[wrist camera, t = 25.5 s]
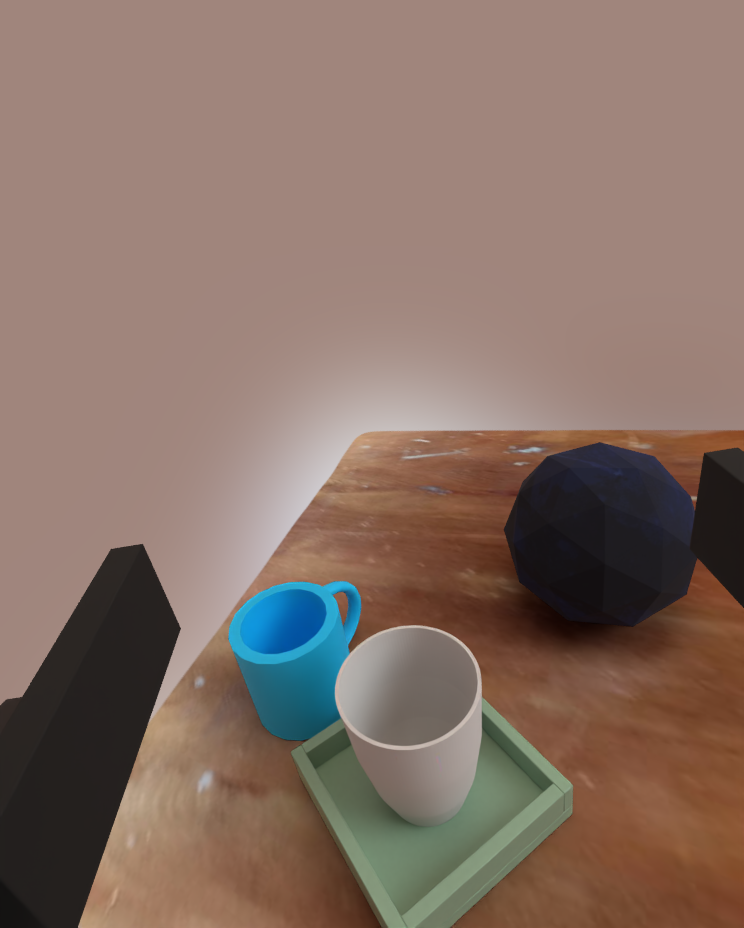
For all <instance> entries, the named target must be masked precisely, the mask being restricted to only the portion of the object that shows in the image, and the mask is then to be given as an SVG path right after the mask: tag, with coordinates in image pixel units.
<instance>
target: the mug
mask: <svg viewBox="0 0 744 928" xmlns="http://www.w3.org/2000/svg"><path fill="white" fill-rule="evenodd" d="M338 592H344V593H346V596H347V598H348V611H347V617H346V620H345V623H344V625H342V621H341V617H340V613H339V609H338V605H337V601H336V599H335V598H334V597H333V595H334V594H336V593H338ZM360 612H361V597H360V595H359V593H358V591H357V588H356V587H355V586H353V585H352V584H350V583H348V582H346V581H334V582H331V583H329V584H327V585H325V586H320V585H317V584H313V583H309V582H289V583H285V584H280V585H276V586H273V587H271V588H269V589H266V590H264V591H262V592H260V593H258V594H257V595H255V596H254V597H253V598H251V599H250V600H248V601H247V602H246V603H245V604H244V605H243V606H242V607H241V608H240V609H239V611H238V612H237V613H236V614H235V616H234V618H233V620H232V622H231V624H230V627H229V638H228V639H229V642H230V644H231V647H232V650H233V652H234V655H235V657H236V660H237V662H238V665H239V667H240V670H241V672H242V675H243V677H244V680H245V682H246V685H247V688H248V690H249V693H250V695H251V698H252V700H253V703H254V705H255V708H256V710H257V713H258V715H259V718H260V720H261V723H262V725H263V726H264V727H265V728H266V729H267V730H268V731H269V732H270V733H271V734H272V735H275V736H277V737H280V738H282V739H285V740H300V741H302V740H306V739H310V738H312V737H314V736H315V735H317V734H318V733H320V732H321V731H323V730H324V729H326V728H327V727H329V726H330V725H332V724H333V723H335V722H336V721H338V720H339V719H341V716H340V714H339V711H338V708H337V704H336V699H335V685H336V680H337V676H338V673H339V671H340V668H341V666H342V664H343V663H344V661H345V660H346V658H347V657H348V656H349V654H350V652H349V648H348V645H349V643H350V641H351V639H352V637H353V636H354V633H355V630H356V628H357V625H358V622H359V618H360Z"/></svg>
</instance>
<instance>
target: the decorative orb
mask: <svg viewBox="0 0 744 928" xmlns="http://www.w3.org/2000/svg"><path fill="white" fill-rule="evenodd" d="M694 515H695V510H694V506H693V503H692V499H691V497H690V495H689V494H688V493H687V492H686V491H685V490H684V489H683V488H682V487H681V485H680V484H679V483H678V482H677V481H676V480H675V479H674V478H673V477H672V475H671V474H670V473H669V472H668V471H667V470H666V469H665V468H664V467H663V465H662V464H661V463H660V462H659V461H658V460H657V459H656V458H655V457H654V456H651V455H647V454H643V453H639V452H635V451H631V450H627V449H623V448H620V447H616V446H612V445H608V444H604V443H600V442H599V443H596V444H592V445H588V446H584V447H580V448H577V449H573V450H569V451H565V452H562V453H558V454H554V455H550V456H547V457H546V458H545V459H544V460H543V461H542V463H541V464H540V465H539V466H538V467H537V468H536V469H535V470H534V471H533V472H532V473H531V474H530V475H529V476H528V477H527V478H526V479H525V480H524V481H523V483H522V485H521V488H520V490H519V493H518V495H517V498H516V500H515V503H514V505H513V508H512V510H511V513H510V515H509V518H508V520H507V523H506V526H505V528H504V531H505V535H506V538H507V541H508V545H509V548H510V552H511V555H512V558H513V562H514V565H515V569H516V572H517V575H518V579H519V582H520V583H521V584H523V585H524V586H525V587H526V588H528V589H529V590H530V591H531V592H533V593H534V594H535V595H536V596H538V597H539V598H540V599H541V600H543V601H544V602H545V603H546V604H548V605H549V606H550V607H551V608H553V609H554V610H555V611H556V612H558V613H559V614H560V615H561V616H563V617H564V618H565V619H566V620H568V621H579V622H589V623H600V624H610V625H621V626H631V627H633V626H635V625H636V624H638V623H640V622H641V621H643V620H645V619H646V618H648V617H650V616H651V615H653V614H655V613H656V612H658V611H660V610H661V609H663V608H665V607H666V606H668V605H670V604H671V603H673V602H675V601H676V600H678V599H680V598H681V597H683V596H685V595H686V594H687V591H688V587H689V584H690V580H691V577H692V574H693V570H694V567H695V564H696V560H697V557H696V555H695V554H694V553H693V552H692V551H691V550H690V549H689V548H690V541H691V535H692V528H693V522H694Z"/></svg>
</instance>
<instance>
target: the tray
mask: <svg viewBox="0 0 744 928" xmlns="http://www.w3.org/2000/svg"><path fill="white" fill-rule="evenodd" d="M291 755H292V757H293V760H294V763H295V765H296V768H297V770H298V773H299V776H300V779H301V780H302V782H303V784H304V786H305V788H306V790H307V791H308V793H309V795H310V797H311V799H312V801H313V802H314V804H315V806H316V808H317V810H318V812H319V813H320V815H321V817H322V819H323V821H324V823H325V824H326V826H327V828H328V830H329V832H330V834H331V835H332V837H333V839H334V841H335V843H336V845H337V846H338V848H339V850H340V852H341V854H342V856H343V857H344V859H345V861H346V863H347V865H348V867H349V868H350V870H351V872H352V874H353V876H354V878H355V879H356V881H357V883H358V885H359V887H360V889H361V890H362V892H363V894H364V896H365V898H366V900H367V901H368V903H369V905H370V907H371V909H372V911H373V912H374V914H375V916H376V918H377V920H378V922H379V923H380V925H381V927H382V928H450V927H451V926H452V925H453V924H454V923H455V922H456V921H457V920H458V919H459V918H461V917H462V916H463V915H464V914H465V913H466V912H467V911H468V910H469V909H470V908H471V907H472V906H474V905H475V904H476V903H477V902H478V901H479V900H480V899H481V898H482V897H483V896H484V895H485V894H486V893H488V892H489V891H490V890H491V889H492V888H493V887H494V886H495V885H496V884H497V883H498V882H499V881H500V880H502V879H503V878H504V877H505V876H506V875H507V874H508V873H509V872H510V871H511V870H512V869H513V868H515V867H516V866H517V865H518V864H519V863H520V862H521V861H522V860H523V859H524V858H525V857H526V856H527V855H529V854H530V853H531V852H532V851H533V850H534V849H535V848H536V847H537V846H538V845H539V844H540V843H542V842H543V841H544V840H545V839H546V838H547V837H548V836H549V835H550V834H551V833H552V832H553V831H554V830H556V829H557V828H558V827H559V826H560V825H561V824H562V823H563V822H564V821H565V820H566V819H567V818H569V817H570V816H571V815H572V806H573V805H572V804H573V785H572V784H571V783H570V782H569V781H568V780H567V779H566V778H565V777H564V776H563V775H562V774H561V773H560V772H559V771H558V770H557V769H556V768H555V767H554V766H553V765H551V764H550V763H549V762H548V761H547V760H546V759H545V758H544V757H543V756H542V755H541V754H540V753H539V752H538V751H537V750H536V749H535V748H534V747H533V746H532V745H531V744H530V743H529V742H528V741H527V740H526V739H525V738H524V737H523V736H522V735H521V734H520V733H519V732H518V731H516V730H515V729H514V728H513V727H512V726H511V725H510V724H509V723H508V722H507V721H506V720H505V719H504V718H503V717H502V716H501V715H500V714H499V713H498V712H497V711H496V710H495V709H494V708H493V707H492V706H491V705H490V704H489V703H488V702H487V701H486V700H485V699H484V698H482V737H481V743H480V749H479V755H478V761H477V767H476V773H475V778H474V781H473V784H472V786H471V788H470V790H469V793H468V795H467V797H466V799H465V801H464V803H463V805H462V807H461V809H460V810H459V812H458V813H457V814H456V815H455V816H454V817H453V818H452V819H450V820H449V821H447V822H445V823H443V824H441V825H438V826H433V827H422V826H417V825H414V824H411V823H409V822H408V821H406V820H405V819H403V818H402V817H401V816H400V815H399V814H398V813H397V812H395V811H394V810H393V809H392V808H391V807H390V806H389V805H388V804H387V803H386V802H385V801H384V800H383V799H382V798H381V797H380V795H379V794H378V792H377V790H376V789H375V787H374V786H373V784H372V782H371V781H370V779H369V777H368V776H367V774H366V773H365V771H364V769H363V768H362V766H361V764H360V763H359V761H358V759H357V757H356V754H355V752H354V749H353V746H352V744H351V741H350V739H349V736H348V734H347V731H346V729H345V726H344V724H343V721H342V719H339V720H338V721H336V722H335V723H333V724H332V725H330V726H329V727H327V728H326V729H324V730H323V731H321V732H320V733H318V734H317V735H315V736H314V737H312V738H310V739H309V740H307V741H306V742H304V743H303V744H302V745H300V746H298V747H297V748H295V749H294V750H292V751H291Z"/></svg>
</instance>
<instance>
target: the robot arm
mask: <svg viewBox="0 0 744 928" xmlns="http://www.w3.org/2000/svg"><path fill="white" fill-rule="evenodd" d="M689 549H690V550H691V551H692V552H693V553H694V554H695V555H696V557H697V558H698V559H699V560H700V561H701V562H702V563H703V564H704V565H705V566H706V567H707V568H708V570H709V571H710V572H711V573H712V574H713V575H714V576H715V577H716V578H717V579H718V580H719V582H720V583H721V584H722V585H723V586H724V587H725V588H726V589H727V590H728V591H729V592H730V593H731V595H732V596H733V597H734V598H735V599H736V600H737V601H738V602H739V603H740V604H741V605H742V607H743V608H744V452H743V451H742V450H741V449H739V448H732V449H726V450H720V451H714V452H708V453H704V457H703V463H702V470H701V476H700V483H699V489H698V496H697V502H696V509H695V515H694V522H693V528H692V535H691V541H690V548H689ZM180 629H181V628H180V626H179V623H178V621H177V619H176V617H175V615H174V612H173V610H172V608H171V606H170V603H169V601H168V599H167V597H166V594H165V592H164V590H163V588H162V586H161V583H160V581H159V579H158V577H157V574H156V572H155V570H154V568H153V566H152V563H151V561H150V559H149V557H148V555H147V552H146V550H145V548H144V546H143V544H140V545H133V546H127V547H121V548H115V549H111V550H110V552H109V554H108V555H107V557H106V558H105V560H104V562H103V563H102V565H101V567H100V569H99V570H98V572H97V574H96V575H95V577H94V578H93V580H92V582H91V583H90V585H89V587H88V588H87V590H86V592H85V594H84V595H83V597H82V599H81V600H80V602H79V603H78V605H77V607H76V609H75V610H74V612H73V614H72V615H71V617H70V619H69V620H68V622H67V623H66V625H65V627H64V629H63V630H62V632H61V633H60V635H59V637H58V638H57V640H56V642H55V643H54V645H53V647H52V648H51V650H50V652H49V653H48V655H47V657H46V658H45V660H44V662H43V663H42V665H41V667H40V668H39V670H38V672H37V673H36V675H35V677H34V678H33V680H32V682H31V683H30V685H29V687H28V689H27V690H26V692H25V693H24V695H23V697H20V698H13V699H7V700H5V702H3V703H2V704H1V705H0V928H78V925H79V922H80V919H81V916H82V914H83V911H84V908H85V905H86V902H87V899H88V896H89V893H90V890H91V887H92V885H93V882H94V879H95V876H96V873H97V870H98V867H99V864H100V861H101V858H102V856H103V853H104V850H105V847H106V844H107V841H108V838H109V835H110V832H111V829H112V827H113V824H114V821H115V818H116V815H117V812H118V809H119V806H120V803H121V800H122V798H123V795H124V792H125V789H126V786H127V783H128V780H129V777H130V774H131V771H132V769H133V766H134V763H135V760H136V757H137V754H138V751H139V748H140V745H141V742H142V740H143V737H144V734H145V731H146V728H147V725H148V722H149V719H150V716H151V713H152V711H153V708H154V705H155V702H156V699H157V696H158V693H159V690H160V687H161V684H162V681H163V679H164V676H165V672H166V670H167V667H168V664H169V661H170V658H171V655H172V653H173V650H174V647H175V644H176V641H177V638H178V635H179V632H180Z"/></svg>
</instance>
